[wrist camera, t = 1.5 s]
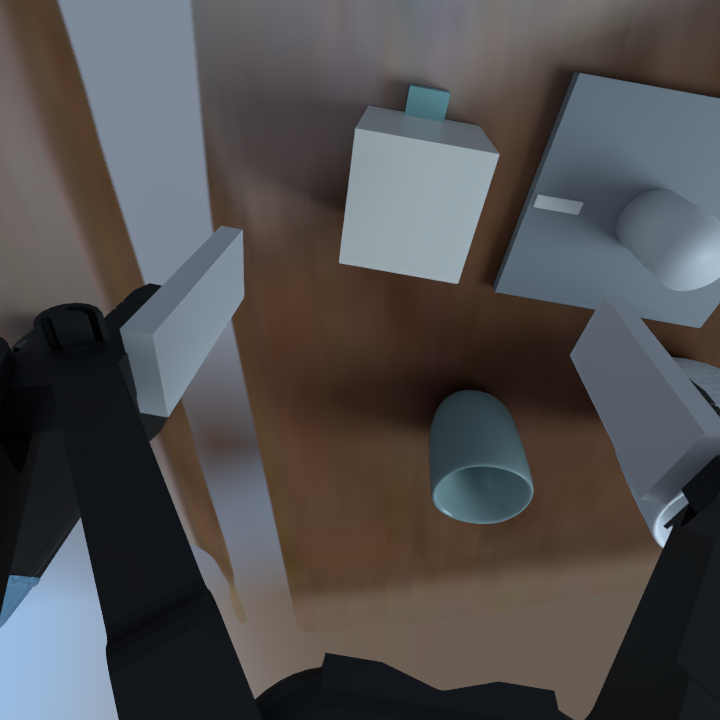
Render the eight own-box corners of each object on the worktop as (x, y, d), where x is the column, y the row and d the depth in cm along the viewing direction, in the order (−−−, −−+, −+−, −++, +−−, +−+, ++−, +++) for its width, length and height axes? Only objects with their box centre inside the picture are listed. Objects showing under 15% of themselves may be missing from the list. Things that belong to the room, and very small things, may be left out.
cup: (526, 391, 39) (555, 481, 31) (485, 443, 44) (501, 533, 36) (448, 366, 38) (458, 453, 30) (415, 422, 43) (416, 509, 35)
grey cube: (351, 235, 32) (336, 285, 25) (372, 76, 26) (359, 91, 19) (443, 251, 32) (450, 305, 26) (486, 97, 26) (511, 119, 19)
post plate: (493, 285, 33) (509, 336, 28) (574, 71, 25) (621, 82, 19) (693, 321, 33) (749, 378, 28) (843, 121, 25) (967, 146, 19)
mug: (798, 378, 36) (956, 519, 25) (690, 455, 42) (781, 592, 32) (651, 315, 33) (758, 441, 23) (562, 406, 40) (614, 536, 30)
